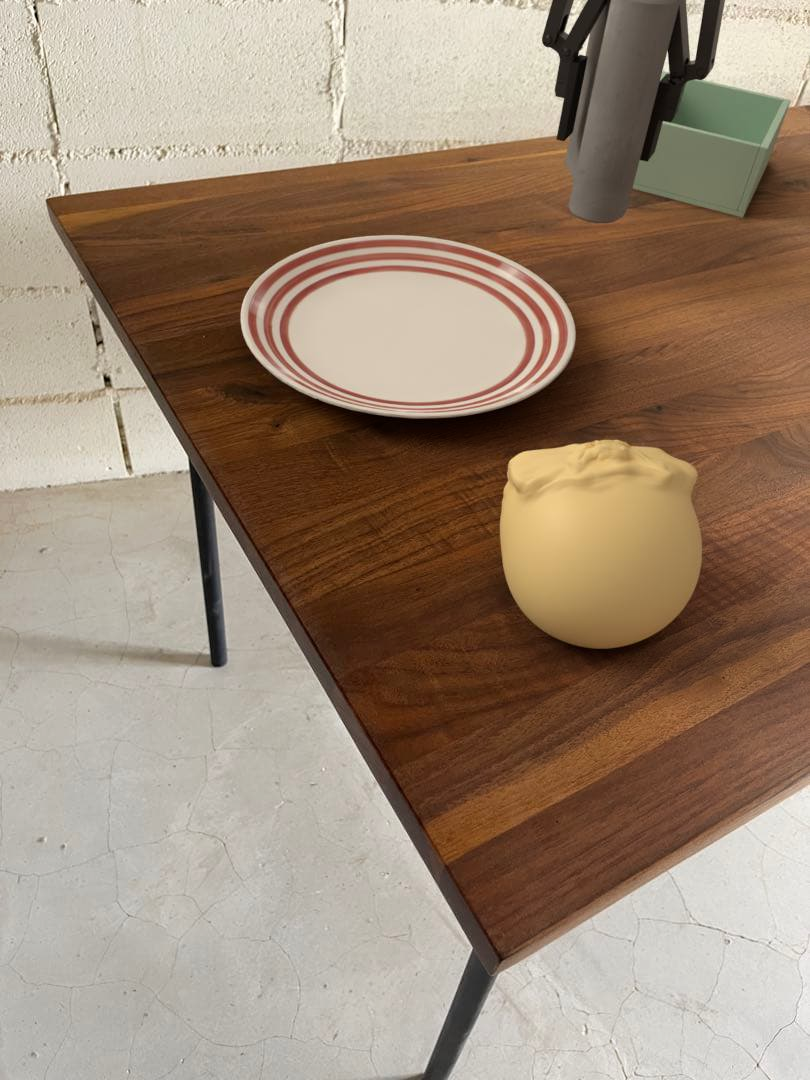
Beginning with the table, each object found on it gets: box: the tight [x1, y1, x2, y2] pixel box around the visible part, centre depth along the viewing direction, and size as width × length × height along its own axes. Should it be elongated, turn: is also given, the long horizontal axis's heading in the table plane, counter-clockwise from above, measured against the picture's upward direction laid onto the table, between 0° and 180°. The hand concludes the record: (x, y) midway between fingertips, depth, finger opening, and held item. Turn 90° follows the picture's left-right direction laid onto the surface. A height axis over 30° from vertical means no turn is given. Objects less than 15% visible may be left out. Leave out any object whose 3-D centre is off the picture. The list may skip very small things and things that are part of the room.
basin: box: [632, 70, 792, 218], centre depth 103 cm, size 16×18×8 cm
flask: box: [564, 0, 680, 224], centre depth 77 cm, size 15×6×20 cm, turn 175°
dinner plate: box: [240, 234, 577, 419], centre depth 74 cm, size 28×27×3 cm
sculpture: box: [499, 439, 703, 650], centre depth 52 cm, size 12×12×11 cm
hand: (605, 145), depth 81 cm, fingers closed on flask, 7 cm apart
